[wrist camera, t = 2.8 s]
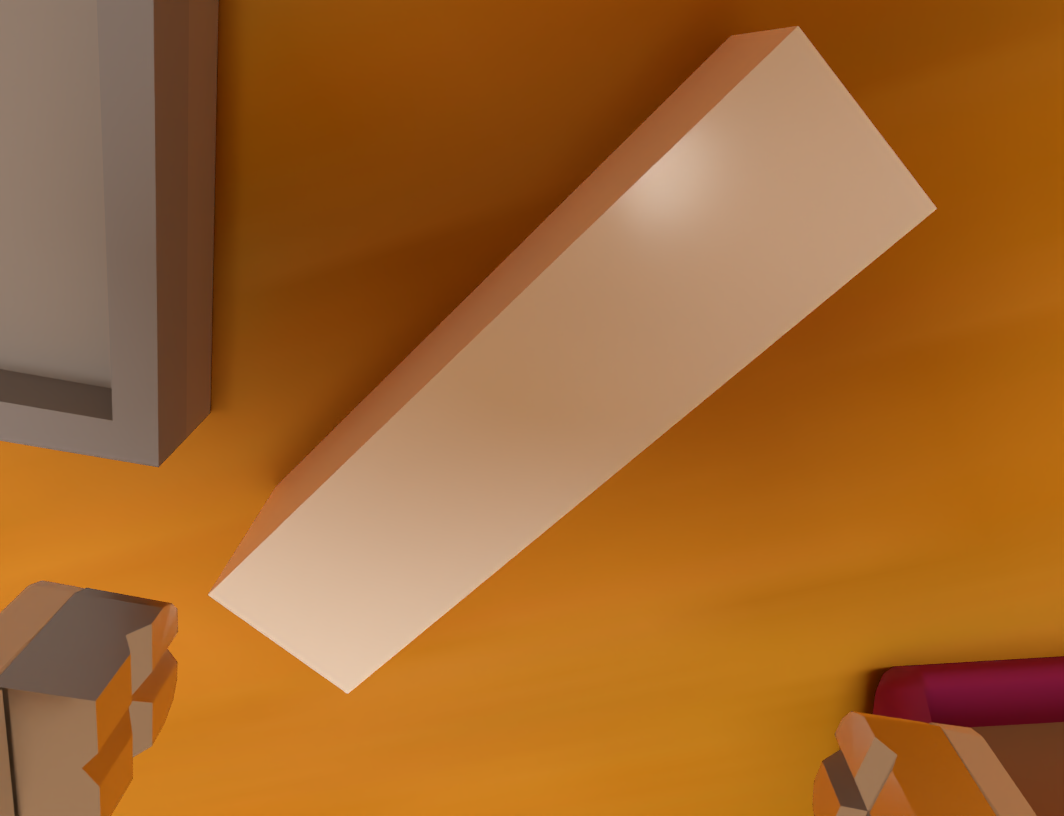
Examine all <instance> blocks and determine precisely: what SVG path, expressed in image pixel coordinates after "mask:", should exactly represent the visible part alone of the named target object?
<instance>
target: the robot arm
mask: <svg viewBox="0 0 1064 816" xmlns="http://www.w3.org/2000/svg"><path fill="white" fill-rule="evenodd" d="M177 633H178V615H177V608H176V607H175V606H174V605H173V604H172V603H167V602H162V601H156V600H151V599H145V598H140V597H134V596H129V595H123V594H118V593H112V592H107V591H101V590H96V589H90V588H85V589H84V588H80V587H75V586H69V585H64V584H58V583H53V582H47V581H39V582H37V583H34V584H31V585H29V586H28V587H26V588H25V589H24V590H23V591H22V592H21V593H20V594H19V595H18V596H17V597H16V598H15V599H14V600H13V601H12V602H11V603H10V604H9V605H8V606H7V607H6V608H5V609H4V610H3V611H2V612H1V613H0V816H111V815H112V813H113V811H114V810H115V808H116V806H117V805H118V803H119V801H120V800H121V798H122V796H123V795H124V793H125V791H126V790H127V788H128V786H129V784H130V783H131V781H132V779H133V757H134V756H136V755H138V754H139V753H141V752H142V751H144V750H146V749H147V748H149V747H151V746H152V745H153V743H154V742H155V740H156V738H157V736H158V734H159V733H160V731H161V729H162V727H163V725H164V723H165V721H166V718H167V715H168V712H169V710H170V707H171V704H172V701H173V698H174V693H175V687H176V682H177V664H178V662H177V661H176V659H175V658H174V657H173V655H172V654H171V653H170V652H169V650H168V649H167V648H168V647H169V645H170V643H171V642H172V640H173V639H174V637H175V636H176V634H177ZM835 737H836V739H837V742H838V744H839V747H840V750H839V751H837V752H836V753H834V754H833V755H831V756H829V757H828V758H826V759H825V760H823V761H822V763H821V766H820V768H819V771H818V773H817V775H816V778H815V780H814V789H813V804H812V805H813V811H814V816H1037V815H1036V814H1035V812H1034V811H1033V809H1032V808H1031V806H1030V805H1029V804H1028V802H1027V801H1026V799H1025V798H1024V796H1023V795H1022V793H1021V792H1020V790H1019V789H1018V788H1017V786H1016V785H1015V783H1014V782H1013V780H1012V779H1011V777H1010V776H1009V774H1008V773H1007V771H1006V770H1005V769H1004V767H1003V766H1002V764H1001V763H1000V761H999V760H998V758H997V757H996V755H995V754H994V752H993V751H992V750H991V748H990V747H989V745H988V744H987V742H986V741H985V739H984V738H983V737H982V736H981V735H980V734H978V733H977V732H976V731H974V730H973V729H972V728H968V727H961V726H954V725H947V724H939V723H932V722H931V723H925V722H920V721H913V720H907V719H900V718H893V717H887V716H880V715H874V714H867V713H860V712H854V711H851V712H850V713H849V714H847V715H846V716H845V717H844V718H843V719H842V720H841V722H840V724H839V726H838V728H837V731H836V733H835Z"/></svg>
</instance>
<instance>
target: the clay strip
mask: <svg viewBox="0 0 1064 816" xmlns="http://www.w3.org/2000/svg"><path fill="white" fill-rule="evenodd" d="M936 209H937V208H936V206H935V205H934V204H933V202H932V201H931V200H930V198H929V197H928V196H927V195H926V193H925V192H924V191H923V189H922V188H921V187H920V185H919V184H918V183H917V181H916V180H915V179H914V177H913V176H912V175H911V173H910V172H909V171H908V169H907V168H906V167H905V166H904V164H903V163H902V162H901V160H900V159H899V158H898V156H897V155H896V154H895V152H894V151H893V150H892V148H891V147H890V146H889V144H888V143H887V142H886V141H885V139H884V138H883V137H882V135H881V134H880V133H879V131H878V130H877V129H876V127H875V126H874V125H873V123H872V122H871V121H870V119H869V118H868V117H867V115H866V114H865V113H864V112H863V110H862V109H861V108H860V106H859V105H858V104H857V102H856V101H855V100H854V98H853V97H852V96H851V94H850V93H849V92H848V90H847V89H846V88H845V87H844V85H843V84H842V83H841V81H840V80H839V79H838V77H837V76H836V75H835V73H834V72H833V71H832V69H831V68H830V67H829V65H828V64H827V63H826V62H825V60H824V59H823V58H822V56H821V55H820V54H819V52H818V51H817V50H816V48H815V47H814V46H813V44H812V43H811V42H810V40H809V39H808V38H807V36H806V35H805V34H804V33H803V31H802V30H801V29H800V27H799V26H793V27H786V28H779V29H773V30H766V31H759V32H752V33H745V34H738V35H731V36H730V37H729V38H728V39H727V40H726V41H725V42H724V43H723V44H722V45H721V46H720V47H719V48H718V49H717V50H716V51H715V52H714V53H713V54H712V55H711V56H710V57H709V58H708V59H707V60H706V61H705V62H704V63H703V64H702V65H701V66H700V67H699V68H698V69H697V70H696V71H695V72H694V73H693V74H692V75H691V76H690V77H689V78H687V79H686V80H685V81H684V82H683V83H682V84H681V85H680V86H679V87H678V88H677V89H676V90H675V91H674V92H673V93H672V94H671V95H670V96H669V97H668V98H667V99H666V100H665V101H664V102H663V103H662V104H661V105H660V106H659V107H658V108H657V109H656V110H655V111H654V112H653V113H652V114H651V115H650V116H649V117H648V118H647V119H646V120H645V121H644V122H643V123H642V124H641V125H640V126H639V127H638V128H637V129H636V130H635V131H634V132H633V133H632V134H631V135H630V136H629V137H628V138H627V139H626V140H625V141H624V142H623V143H622V144H621V145H620V146H619V147H618V148H617V149H616V150H615V151H614V152H613V153H612V154H611V155H610V156H609V157H608V158H607V159H606V160H605V161H604V162H603V163H602V164H601V165H600V166H599V167H598V168H597V169H596V170H595V171H594V172H593V173H592V174H591V175H590V176H589V177H588V178H587V179H586V180H585V181H584V182H583V183H582V184H581V185H580V186H578V187H577V188H576V189H575V190H574V191H573V192H572V193H571V194H570V195H569V196H568V197H567V198H566V199H565V200H564V201H563V202H562V203H561V204H560V205H559V206H558V207H557V208H556V209H555V210H554V211H553V212H552V213H551V214H550V215H549V216H548V217H547V218H546V219H545V220H544V221H543V222H542V223H541V224H540V225H539V226H538V227H537V228H536V229H535V230H534V231H533V232H532V233H531V234H530V235H529V236H528V237H527V238H526V239H525V240H524V241H523V242H522V243H521V244H520V245H519V246H518V247H517V248H516V249H515V250H514V251H513V252H512V253H511V254H510V255H509V256H508V257H507V258H506V259H505V260H504V261H503V262H502V263H501V264H500V265H499V266H498V267H497V268H496V269H495V270H494V271H493V272H492V273H491V274H490V275H489V276H488V277H487V278H486V279H485V280H484V281H483V282H482V283H481V284H480V285H479V286H478V287H477V288H476V289H475V290H474V291H473V292H472V293H471V294H469V295H468V296H467V297H466V298H465V299H464V300H463V301H462V302H461V303H460V304H459V305H458V306H457V307H456V308H455V309H454V310H453V311H452V312H451V313H450V314H449V315H448V316H447V317H446V318H445V319H444V320H443V321H442V322H441V323H440V324H439V325H438V326H437V327H436V328H435V329H434V330H433V331H432V332H431V333H430V334H429V335H428V336H427V337H426V338H425V339H424V340H423V341H422V342H421V343H420V344H419V345H418V346H417V347H416V348H415V349H414V350H413V351H412V352H411V353H410V354H409V355H408V356H407V357H406V358H405V359H404V360H403V361H402V362H401V363H400V364H399V365H398V366H397V367H396V368H395V369H394V370H393V371H392V372H391V373H390V374H389V375H388V376H387V377H386V378H385V379H384V380H383V381H382V382H381V383H380V384H379V385H378V386H377V387H376V388H375V389H374V390H373V391H372V392H371V393H370V394H369V395H368V396H367V397H366V398H365V399H364V400H363V401H362V402H360V403H359V404H358V405H357V406H356V407H355V408H354V409H353V410H352V411H351V412H350V413H349V414H348V415H347V416H346V417H345V418H344V419H343V420H342V421H341V422H340V423H339V424H338V425H337V426H336V427H335V428H334V429H333V430H332V431H331V432H330V433H329V434H328V435H327V436H326V437H325V438H324V439H323V440H322V441H321V442H320V443H319V444H318V445H317V446H316V447H315V448H314V449H313V450H312V451H311V452H310V453H309V454H308V455H307V456H306V457H305V458H304V459H303V460H302V461H301V462H300V463H299V464H298V465H297V466H296V467H295V468H294V469H293V470H292V471H291V472H290V473H289V474H288V475H287V476H286V477H285V478H284V479H283V480H282V481H281V482H280V483H279V484H278V485H277V486H276V487H275V489H274V490H273V492H272V493H271V495H270V497H269V498H268V500H267V501H266V503H265V504H264V506H263V508H262V509H261V511H260V512H259V514H258V516H257V517H256V519H255V520H254V522H253V524H252V525H251V527H250V528H249V530H248V532H247V533H246V535H245V536H244V538H243V540H242V541H241V543H240V544H239V546H238V548H237V549H236V551H235V552H234V554H233V556H232V557H231V559H230V560H229V562H228V564H227V565H226V567H225V568H224V570H223V572H222V573H221V575H220V576H219V578H218V580H217V581H216V583H215V584H214V586H213V587H212V589H211V591H210V592H209V594H208V595H209V596H210V597H211V598H213V599H214V600H216V601H217V602H219V603H220V604H221V605H223V606H224V607H226V608H227V609H228V610H230V611H231V612H233V613H234V614H236V615H237V616H238V617H240V618H241V619H243V620H244V621H245V622H247V623H248V624H250V625H251V626H252V627H254V628H255V629H257V630H258V631H260V632H261V633H262V634H264V635H265V636H267V637H268V638H269V639H271V640H272V641H274V642H275V643H277V644H278V645H279V646H281V647H282V648H284V649H285V650H286V651H288V652H289V653H291V654H292V655H293V656H295V657H296V658H298V659H299V660H301V661H302V662H303V663H305V664H306V665H308V666H309V667H310V668H312V669H313V670H315V671H316V672H318V673H319V674H320V675H322V676H323V677H325V678H326V679H327V680H329V681H330V682H332V683H333V684H334V685H336V686H337V687H339V688H340V689H342V690H343V691H344V692H346V693H347V694H348V693H349V692H350V691H352V690H353V689H354V688H355V687H357V686H358V685H359V684H360V683H361V682H363V681H364V680H365V679H366V678H367V677H369V676H370V675H371V674H372V673H374V672H375V671H376V670H377V669H378V668H380V667H381V666H382V665H383V664H384V663H386V662H387V661H388V660H389V659H391V658H392V657H393V656H394V655H395V654H397V653H398V652H399V651H400V650H401V649H403V648H404V647H405V646H406V645H408V644H409V643H410V642H411V641H412V640H414V639H415V638H416V637H417V636H418V635H420V634H421V633H422V632H423V631H425V630H426V629H427V628H428V627H429V626H431V625H432V624H433V623H434V622H435V621H437V620H438V619H439V618H440V617H442V616H443V615H444V614H445V613H446V612H448V611H449V610H450V609H451V608H452V607H454V606H455V605H456V604H457V603H459V602H460V601H461V600H462V599H463V598H465V597H466V596H467V595H468V594H469V593H471V592H472V591H473V590H474V589H476V588H477V587H478V586H479V585H480V584H482V583H483V582H484V581H485V580H486V579H488V578H489V577H490V576H491V575H493V574H494V573H495V572H496V571H497V570H499V569H500V568H501V567H502V566H504V565H505V564H506V563H507V562H508V561H510V560H511V559H512V558H513V557H514V556H516V555H517V554H518V553H519V552H521V551H522V550H523V549H524V548H525V547H527V546H528V545H529V544H530V543H531V542H533V541H534V540H535V539H536V538H538V537H539V536H540V535H541V534H542V533H544V532H545V531H546V530H547V529H548V528H550V527H551V526H552V525H553V524H555V523H556V522H557V521H558V520H559V519H561V518H562V517H563V516H564V515H565V514H567V513H568V512H569V511H570V510H572V509H573V508H574V507H575V506H576V505H578V504H579V503H580V502H581V501H582V500H584V499H585V498H586V497H587V496H589V495H590V494H591V493H592V492H593V491H595V490H596V489H597V488H598V487H599V486H601V485H602V484H603V483H604V482H606V481H607V480H608V479H609V478H610V477H612V476H613V475H614V474H615V473H616V472H618V471H619V470H620V469H621V468H623V467H624V466H625V465H626V464H627V463H629V462H630V461H631V460H632V459H633V458H635V457H636V456H637V455H638V454H640V453H641V452H642V451H643V450H644V449H646V448H647V447H648V446H649V445H650V444H652V443H653V442H654V441H655V440H657V439H658V438H659V437H660V436H661V435H663V434H664V433H665V432H666V431H667V430H669V429H670V428H671V427H672V426H674V425H675V424H676V423H677V422H678V421H680V420H681V419H682V418H683V417H685V416H686V415H687V414H688V413H689V412H691V411H692V410H693V409H694V408H695V407H697V406H698V405H699V404H700V403H702V402H703V401H704V400H705V399H706V398H708V397H709V396H710V395H711V394H712V393H714V392H715V391H716V390H717V389H719V388H720V387H721V386H722V385H723V384H725V383H726V382H727V381H728V380H729V379H731V378H732V377H733V376H734V375H736V374H737V373H738V372H739V371H740V370H742V369H743V368H744V367H745V366H746V365H748V364H749V363H750V362H751V361H753V360H754V359H755V358H756V357H757V356H759V355H760V354H761V353H762V352H763V351H765V350H766V349H767V348H768V347H770V346H771V345H772V344H773V343H774V342H776V341H777V340H778V339H779V338H780V337H782V336H783V335H784V334H785V333H787V332H788V331H789V330H790V329H791V328H793V327H794V326H795V325H796V324H797V323H799V322H800V321H801V320H802V319H804V318H805V317H806V316H807V315H808V314H810V313H811V312H812V311H813V310H814V309H816V308H817V307H818V306H819V305H821V304H822V303H823V302H824V301H825V300H827V299H828V298H829V297H830V296H831V295H833V294H834V293H835V292H836V291H838V290H839V289H840V288H841V287H842V286H844V285H845V284H846V283H847V282H849V281H850V280H851V279H852V278H853V277H855V276H856V275H857V274H858V273H859V272H861V271H862V270H863V269H864V268H866V267H867V266H868V265H869V264H870V263H872V262H873V261H874V260H875V259H876V258H878V257H879V256H880V255H881V254H883V253H884V252H885V251H886V250H887V249H889V248H890V247H891V246H892V245H893V244H895V243H896V242H897V241H898V240H900V239H901V238H902V237H903V236H904V235H906V234H907V233H908V232H909V231H910V230H912V229H913V228H914V227H915V226H917V225H918V224H919V223H920V222H921V221H923V220H924V219H925V218H926V217H927V216H929V215H930V214H931V213H932V212H934V211H935V210H936Z"/></svg>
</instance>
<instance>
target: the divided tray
mask: <svg viewBox="0 0 1064 816" xmlns="http://www.w3.org/2000/svg"><path fill="white" fill-rule="evenodd" d="M218 5H219V0H0V441H6V442H12V443H18V444H24V445H30V446H36V447H42V448H48V449H54V450H60V451H66V452H72V453H78V454H83V455H89V456H95V457H101V458H107V459H113V460H119V461H125V462H131V463H137V464H143V465H149V466H155V467H159V466H160V465H161V464H162V463H163V462H164V461H165V460H166V459H167V458H168V457H169V456H170V455H171V454H172V453H173V452H174V450H175V449H176V448H177V447H178V446H179V445H180V444H181V443H182V442H183V441H184V440H185V439H186V438H187V437H188V436H189V435H190V434H191V433H192V432H193V431H194V429H195V428H196V427H197V426H198V425H199V424H200V423H201V422H202V421H203V420H204V419H205V418H206V417H207V416H208V415H209V414H210V407H211V357H212V307H213V257H214V206H215V156H216V106H217V55H218Z"/></svg>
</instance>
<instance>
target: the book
mask: <svg viewBox="0 0 1064 816" xmlns="http://www.w3.org/2000/svg"><path fill="white" fill-rule="evenodd" d="M873 714H874V715H880V716H887V717H893V718H900V719H907V720H913V721H920V722H925V723H931V722H932V723H939V724H947V725H954V726H961V727H968V728H972V729H973V730H974V731H976V732H977V733H978V734H980V735H981V736H982V737H983V738H984V739H985V741H986V742H987V744H988V745H989V747H990V748H991V750H992V751H993V752H994V754H995V755H996V757H997V758H998V760H999V761H1000V763H1001V764H1002V766H1003V767H1004V769H1005V770H1006V771H1007V773H1008V774H1009V776H1010V777H1011V779H1012V780H1013V782H1014V783H1015V785H1016V786H1017V788H1018V789H1019V790H1020V792H1021V793H1022V795H1023V796H1024V798H1025V799H1026V801H1027V802H1028V804H1029V805H1030V806H1031V808H1032V809H1033V811H1034V812H1035V814H1036V815H1037V816H1064V656H1061V657H1044V658H1028V659H1011V660H994V661H977V662H961V663H944V664H927V665H911V666H894V667H892V668H890V669H889V670H887V671H886V672H884V673H883V675H882V678H881V680H880V682H879V685H878V687H877V689H876V692H875V699H874V707H873Z"/></svg>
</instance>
